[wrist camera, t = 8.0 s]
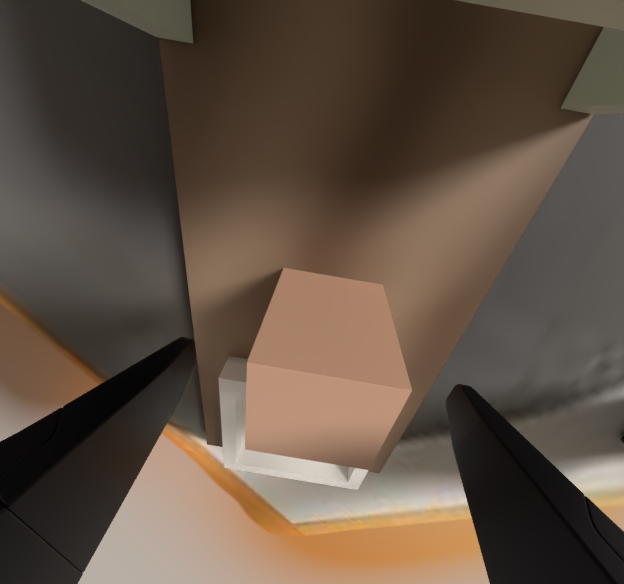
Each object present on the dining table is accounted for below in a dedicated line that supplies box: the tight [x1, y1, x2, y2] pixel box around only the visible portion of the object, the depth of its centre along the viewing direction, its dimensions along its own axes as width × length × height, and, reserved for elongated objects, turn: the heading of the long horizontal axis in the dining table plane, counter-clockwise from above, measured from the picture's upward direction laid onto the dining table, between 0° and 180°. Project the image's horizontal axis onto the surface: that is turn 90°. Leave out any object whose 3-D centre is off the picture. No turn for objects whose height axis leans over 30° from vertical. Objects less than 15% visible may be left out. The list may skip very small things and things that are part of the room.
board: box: [158, 0, 603, 473], centre depth 11 cm, size 12×28×1 cm, turn 171°
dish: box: [219, 356, 368, 490], centre depth 15 cm, size 9×9×1 cm
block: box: [245, 268, 412, 470], centre depth 10 cm, size 4×4×5 cm
